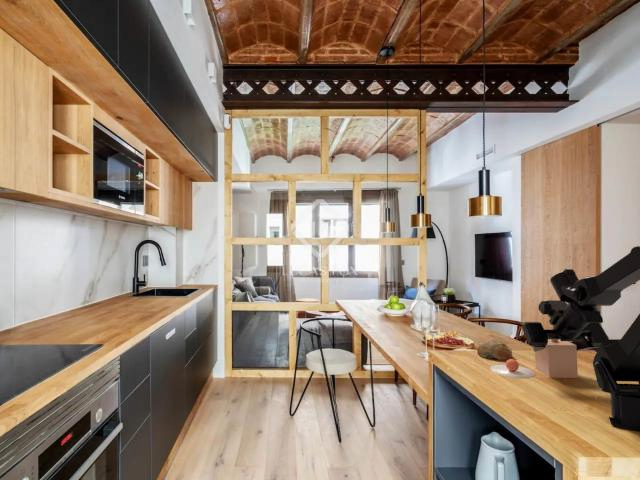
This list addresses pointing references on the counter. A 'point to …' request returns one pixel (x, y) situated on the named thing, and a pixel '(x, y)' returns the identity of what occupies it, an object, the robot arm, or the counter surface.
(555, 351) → the pink knobbed box
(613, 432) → the counter surface
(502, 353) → the bread roll
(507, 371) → the plate
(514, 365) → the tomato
